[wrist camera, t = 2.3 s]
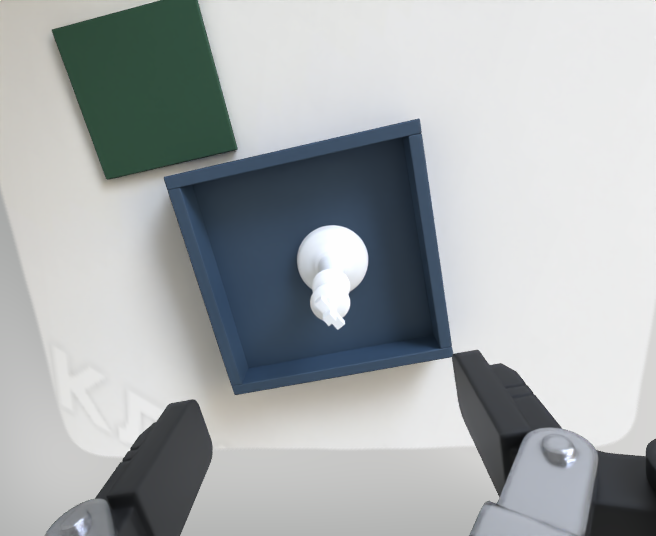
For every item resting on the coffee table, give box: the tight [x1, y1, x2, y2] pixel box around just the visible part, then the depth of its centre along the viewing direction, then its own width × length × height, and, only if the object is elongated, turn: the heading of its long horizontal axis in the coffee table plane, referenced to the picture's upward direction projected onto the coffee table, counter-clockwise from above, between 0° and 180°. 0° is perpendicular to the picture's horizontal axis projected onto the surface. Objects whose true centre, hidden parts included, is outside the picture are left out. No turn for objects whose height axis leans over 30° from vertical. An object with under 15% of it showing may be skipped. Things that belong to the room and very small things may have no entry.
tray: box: [164, 119, 453, 395], centre depth 27 cm, size 16×16×2 cm
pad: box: [52, 0, 237, 179], centre depth 25 cm, size 9×9×1 cm
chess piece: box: [297, 225, 368, 330], centre depth 23 cm, size 5×5×10 cm
